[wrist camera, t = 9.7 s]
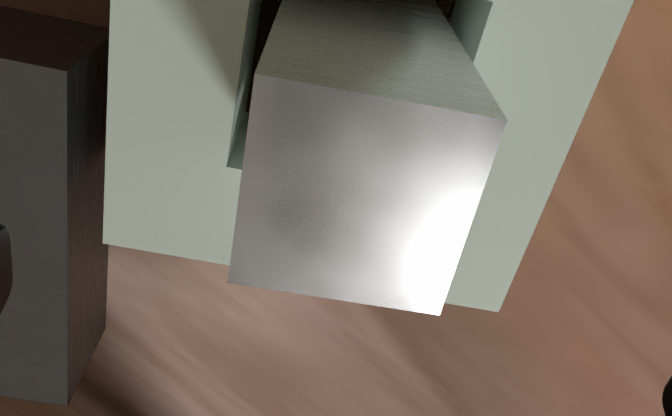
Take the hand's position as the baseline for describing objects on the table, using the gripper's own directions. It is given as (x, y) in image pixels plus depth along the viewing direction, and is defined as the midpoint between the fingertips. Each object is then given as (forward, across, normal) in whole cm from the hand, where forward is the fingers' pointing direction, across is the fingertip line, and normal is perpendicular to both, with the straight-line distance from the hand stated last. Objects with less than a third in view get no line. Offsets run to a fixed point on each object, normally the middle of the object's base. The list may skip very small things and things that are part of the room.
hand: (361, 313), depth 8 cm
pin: (+13, 0, 0) cm, 13 cm away
